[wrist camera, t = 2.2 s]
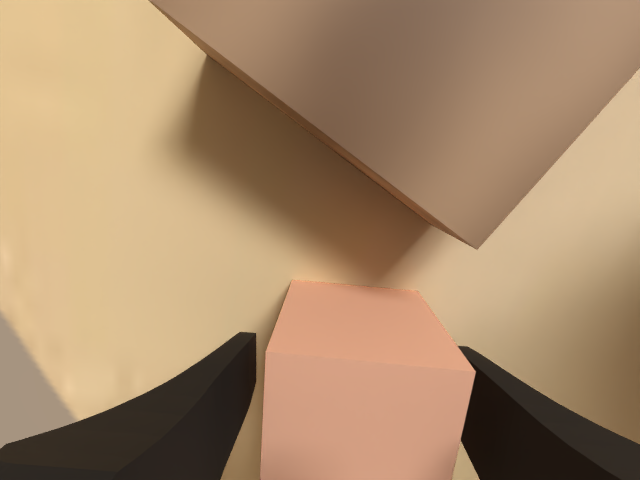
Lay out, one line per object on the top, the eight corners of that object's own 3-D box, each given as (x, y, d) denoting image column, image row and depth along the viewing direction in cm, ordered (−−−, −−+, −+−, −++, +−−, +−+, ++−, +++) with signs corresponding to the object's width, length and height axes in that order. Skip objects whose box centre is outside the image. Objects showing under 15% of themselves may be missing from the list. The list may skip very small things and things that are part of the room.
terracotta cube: (417, 290, 12) (475, 371, 7) (399, 397, 13) (439, 531, 8) (292, 278, 12) (265, 351, 7) (285, 386, 13) (258, 512, 8)
